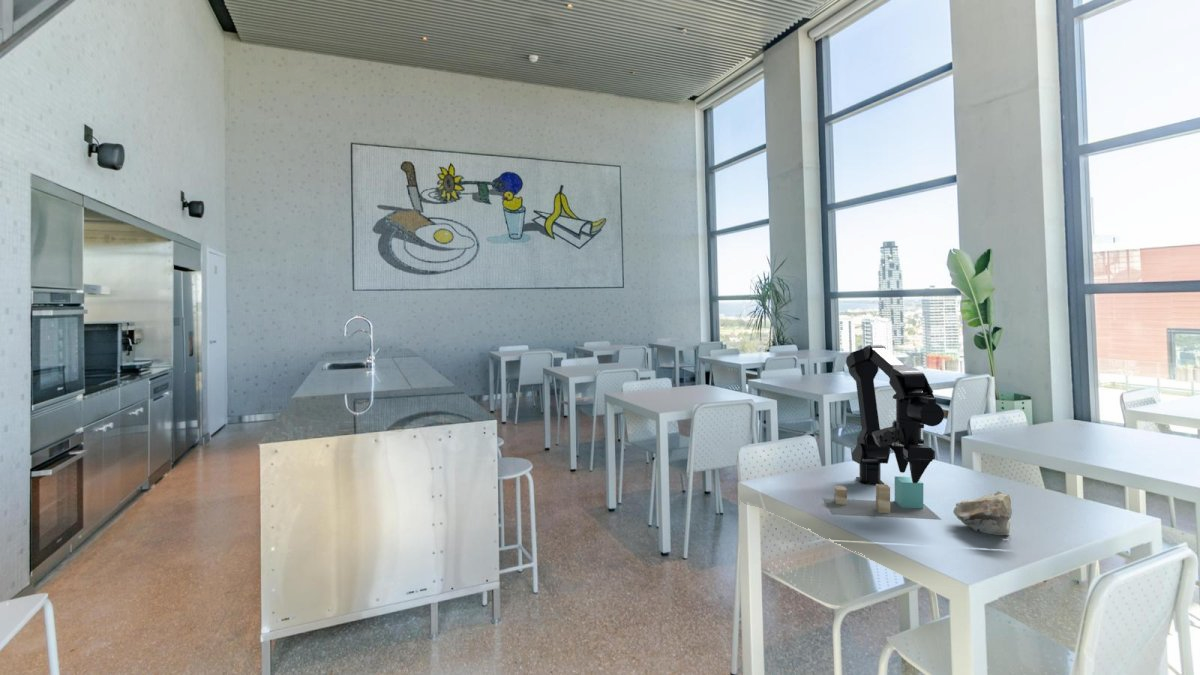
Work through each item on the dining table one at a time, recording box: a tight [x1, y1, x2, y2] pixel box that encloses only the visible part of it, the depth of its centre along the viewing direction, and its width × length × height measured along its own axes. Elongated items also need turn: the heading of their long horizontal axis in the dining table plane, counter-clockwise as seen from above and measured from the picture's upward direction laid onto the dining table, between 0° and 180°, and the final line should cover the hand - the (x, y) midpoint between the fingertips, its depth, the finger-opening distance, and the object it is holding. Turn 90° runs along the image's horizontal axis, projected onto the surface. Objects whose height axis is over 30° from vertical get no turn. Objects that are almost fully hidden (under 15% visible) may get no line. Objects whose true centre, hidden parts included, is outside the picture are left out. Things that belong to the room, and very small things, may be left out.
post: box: [875, 483, 891, 513], centre depth 138 cm, size 3×3×6 cm
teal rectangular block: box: [894, 476, 924, 508], centre depth 143 cm, size 5×5×7 cm
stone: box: [953, 491, 1013, 537], centre depth 125 cm, size 11×14×10 cm
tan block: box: [833, 485, 848, 505], centre depth 145 cm, size 3×3×4 cm
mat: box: [821, 498, 942, 521], centre depth 140 cm, size 12×25×1 cm, turn 79°
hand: (908, 477), depth 143 cm, fingers open, 9 cm apart
